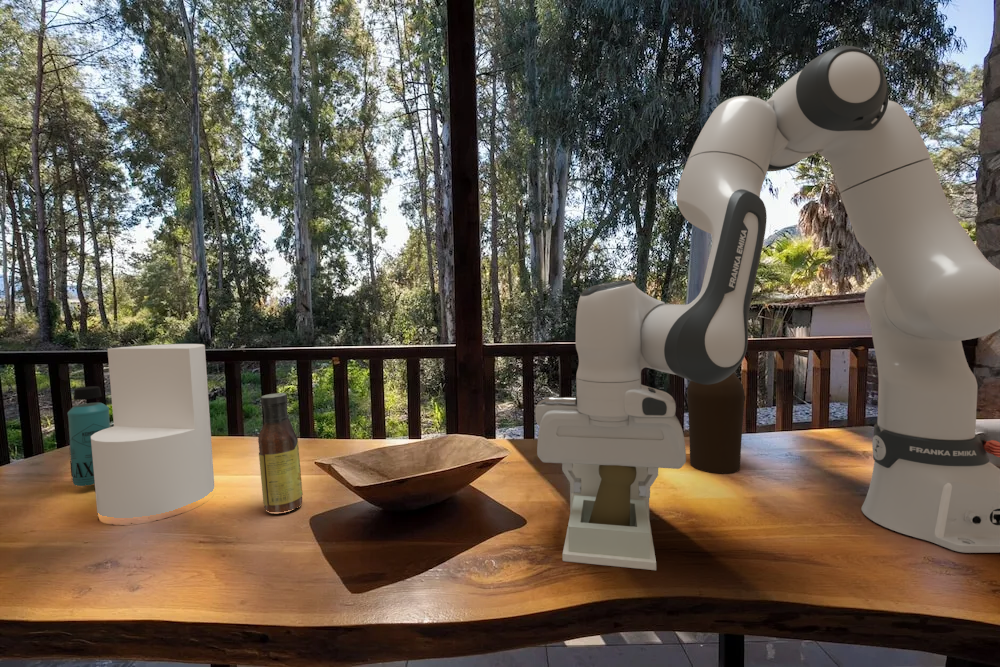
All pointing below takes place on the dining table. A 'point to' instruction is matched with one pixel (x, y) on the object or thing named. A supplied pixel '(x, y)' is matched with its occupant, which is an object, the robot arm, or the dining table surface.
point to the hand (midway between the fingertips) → (609, 494)
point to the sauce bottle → (279, 457)
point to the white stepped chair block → (154, 432)
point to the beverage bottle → (85, 433)
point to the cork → (613, 495)
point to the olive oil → (716, 424)
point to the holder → (608, 527)
